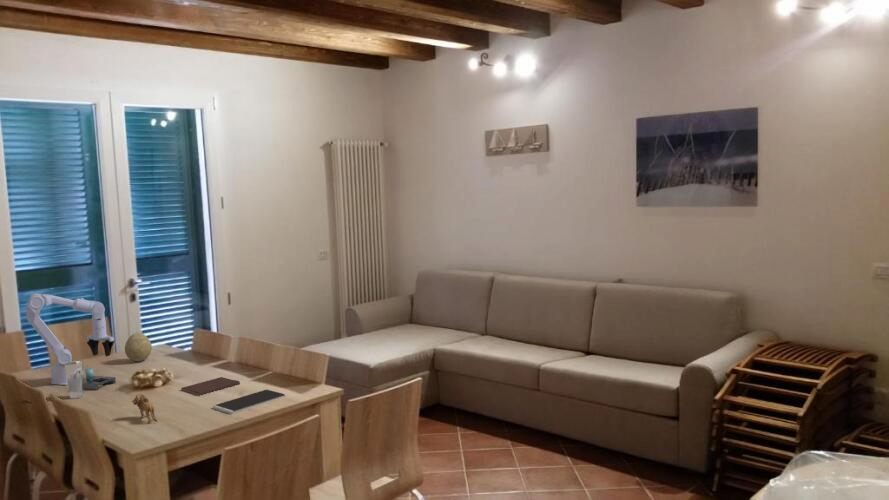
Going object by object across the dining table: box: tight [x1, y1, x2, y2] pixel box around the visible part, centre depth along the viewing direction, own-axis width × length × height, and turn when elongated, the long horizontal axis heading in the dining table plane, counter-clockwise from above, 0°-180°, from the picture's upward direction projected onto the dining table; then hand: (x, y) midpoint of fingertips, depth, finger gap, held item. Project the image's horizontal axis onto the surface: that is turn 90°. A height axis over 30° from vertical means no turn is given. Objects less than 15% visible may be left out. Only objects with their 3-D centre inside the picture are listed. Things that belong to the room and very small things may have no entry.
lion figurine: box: [131, 393, 158, 424], centre depth 258 cm, size 15×5×9 cm, turn 51°
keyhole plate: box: [83, 375, 117, 391], centre depth 307 cm, size 13×11×3 cm
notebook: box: [181, 376, 241, 397], centre depth 298 cm, size 15×20×2 cm
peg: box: [84, 368, 95, 380], centre depth 308 cm, size 4×4×7 cm
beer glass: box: [65, 360, 85, 400], centre depth 291 cm, size 7×7×15 cm
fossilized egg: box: [124, 332, 152, 363], centre depth 349 cm, size 13×13×15 cm
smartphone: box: [212, 389, 287, 415], centre depth 275 cm, size 13×27×2 cm, turn 142°
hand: (101, 355), depth 321 cm, fingers open, 7 cm apart
